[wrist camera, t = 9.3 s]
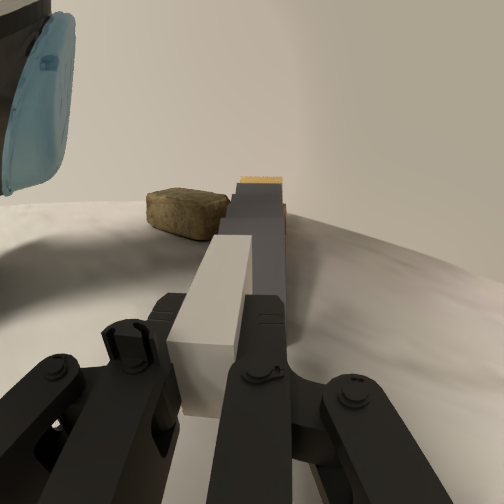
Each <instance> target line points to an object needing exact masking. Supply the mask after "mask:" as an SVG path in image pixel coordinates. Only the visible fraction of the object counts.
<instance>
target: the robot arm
mask: <svg viewBox="0 0 504 504" xmlns="http://www.w3.org/2000/svg"><path fill="white" fill-rule="evenodd" d="M75 41H76V36H75V19H74V17H73V16H72V15H71V14H69V13H63V12H61V11H59V12H55V13H54V14H53V15H52V13H51V0H0V196H1V195H4V196H10V195H12V194H13V192H14V191H17V190H21V189H24V188H27V187H31V186H35V185H38V184H42V183H44V182H46V181H48V180H49V179H51V178H52V177H53V176H54V175H55V174H56V173H57V171H58V169H59V168H60V166H61V163H62V160H63V157H64V153H65V148H66V141H67V134H68V123H69V115H70V103H71V93H72V82H73V70H74V58H75V57H74V56H75ZM101 335H102V338H103V341H104V344H105V346H106V349H107V352H108V355H109V358H110V361H109V363H108V365H106V366H100V367H88V368H80V366H79V364H78V361H77V359H75V358H74V357H73V356H72V355H68V354H55V355H52V356H49V357H47V358H45V359H44V360H42V361H41V362H39V363H38V364H37V365H36V366H35V367H34V368H33V369H32V370H31V371H30V372H29V373H27V374H26V375H25V376H24V377H23V378H22V379H21V380H20V381H19V382H18V383H17V384H16V385H15V386H13V387H12V388H11V389H10V390H9V391H8V392H7V393H6V394H5V395H4V396H3V397H2V398H1V399H0V504H161V502H162V498H163V494H164V490H165V486H166V482H167V478H168V474H169V470H170V466H171V462H172V458H173V454H174V450H175V447H176V443H177V439H178V435H179V431H180V424H179V420H178V417H177V416H178V413H179V409H180V406H182V409H183V413H184V415H190V416H199V417H210V418H220V423H219V429H218V435H217V441H216V447H215V453H214V458H213V464H212V470H211V476H210V482H209V488H208V494H207V500H206V504H292V459H296V460H300V461H304V462H308V463H309V465H310V468H311V471H312V474H313V476H314V479H315V482H316V484H317V487H318V490H319V493H320V495H321V498H322V501H323V503H324V504H453V502H452V500H451V498H450V497H449V495H448V493H447V492H446V490H445V488H444V487H443V485H442V483H441V482H440V480H439V478H438V477H437V475H436V473H435V472H434V470H433V469H432V467H431V465H430V464H429V462H428V460H427V459H426V457H425V455H424V454H423V452H422V451H421V449H420V447H419V446H418V444H417V443H416V441H415V439H414V438H413V436H412V435H411V433H410V431H409V430H408V428H407V427H406V425H405V424H404V422H403V420H402V419H401V417H400V416H399V414H398V413H397V411H396V409H395V408H394V406H393V405H392V403H391V402H390V400H389V399H388V397H387V396H386V394H385V392H384V391H383V389H382V388H381V387H380V386H379V385H378V384H377V383H376V382H375V381H374V380H372V379H370V378H368V377H366V376H363V375H358V374H344V375H340V376H338V377H335V378H333V379H332V380H331V381H330V382H328V383H327V384H326V385H325V384H320V383H316V382H312V381H309V380H306V379H303V378H301V377H300V376H298V375H296V374H295V373H294V372H293V371H292V370H291V368H290V367H289V365H288V362H287V351H286V328H285V308H284V303H283V302H282V301H281V299H280V298H279V297H278V295H252V235H214V236H213V238H212V240H211V243H210V245H209V247H208V249H207V251H206V253H205V255H204V258H203V260H202V262H201V264H200V266H199V268H198V271H197V273H196V275H195V277H194V279H193V281H192V284H191V286H190V288H189V290H188V293H187V294H186V293H167V294H166V295H164V296H163V297H162V298H161V299H159V300H158V301H157V303H156V304H155V306H154V308H153V310H152V312H151V313H150V315H149V317H148V320H146V321H143V320H139V319H125V320H121V321H118V322H115V323H113V324H111V325H109V326H107V327H106V328H105V329H104V330H103V331H102V332H101ZM56 420H58V421H59V423H60V425H59V426H58V427H56V428H53V427H52V426H51V425H52V424H53V423H54V422H55V421H56Z"/></svg>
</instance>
